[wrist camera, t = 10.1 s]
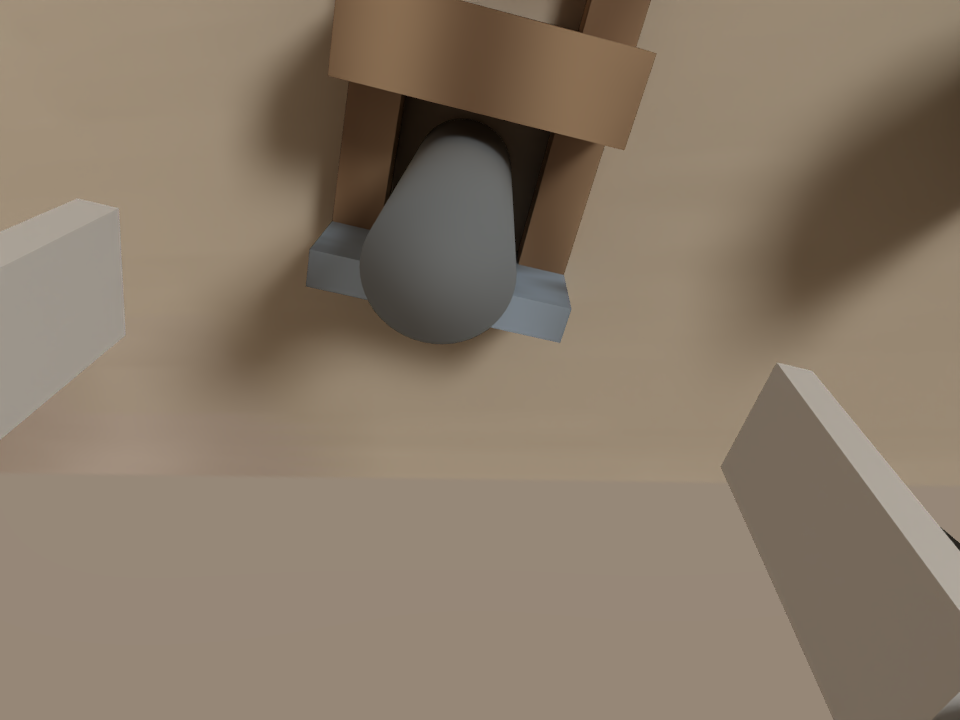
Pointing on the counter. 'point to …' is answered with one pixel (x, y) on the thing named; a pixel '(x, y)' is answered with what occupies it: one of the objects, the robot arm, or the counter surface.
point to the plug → (445, 238)
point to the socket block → (492, 92)
